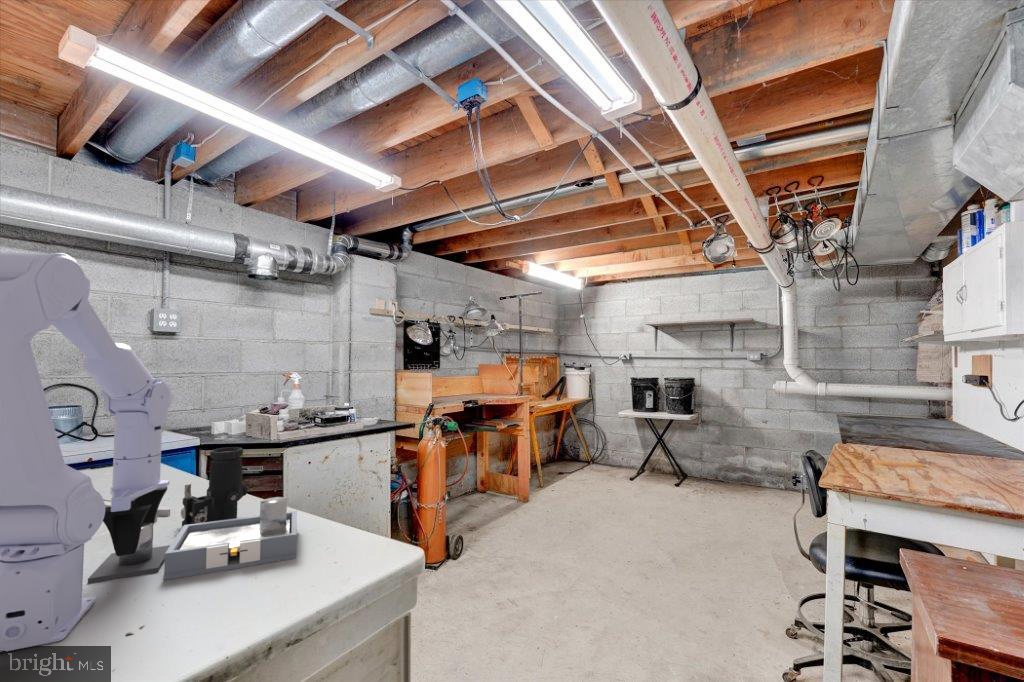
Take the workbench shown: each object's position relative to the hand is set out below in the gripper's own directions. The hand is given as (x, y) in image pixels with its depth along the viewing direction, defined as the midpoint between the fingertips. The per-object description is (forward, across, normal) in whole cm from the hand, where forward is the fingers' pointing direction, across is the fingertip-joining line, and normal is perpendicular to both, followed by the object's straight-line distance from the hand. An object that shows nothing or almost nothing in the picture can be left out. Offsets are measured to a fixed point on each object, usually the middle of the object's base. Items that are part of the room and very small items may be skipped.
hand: (134, 544), depth 70 cm
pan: (+1, -2, -14) cm, 14 cm away
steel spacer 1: (+2, 0, 0) cm, 2 cm away
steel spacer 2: (0, -2, -19) cm, 19 cm away
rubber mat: (+3, 0, 0) cm, 3 cm away
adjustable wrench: (+4, +31, +9) cm, 33 cm away
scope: (+3, +15, -9) cm, 18 cm away
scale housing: (+3, -2, -14) cm, 14 cm away
